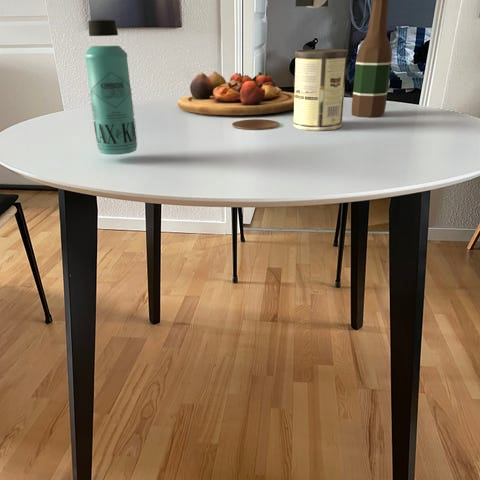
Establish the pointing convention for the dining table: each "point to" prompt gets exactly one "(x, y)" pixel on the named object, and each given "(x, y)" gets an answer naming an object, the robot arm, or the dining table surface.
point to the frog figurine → (317, 3)
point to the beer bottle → (373, 66)
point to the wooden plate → (235, 95)
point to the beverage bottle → (110, 92)
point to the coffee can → (319, 89)
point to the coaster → (255, 124)
